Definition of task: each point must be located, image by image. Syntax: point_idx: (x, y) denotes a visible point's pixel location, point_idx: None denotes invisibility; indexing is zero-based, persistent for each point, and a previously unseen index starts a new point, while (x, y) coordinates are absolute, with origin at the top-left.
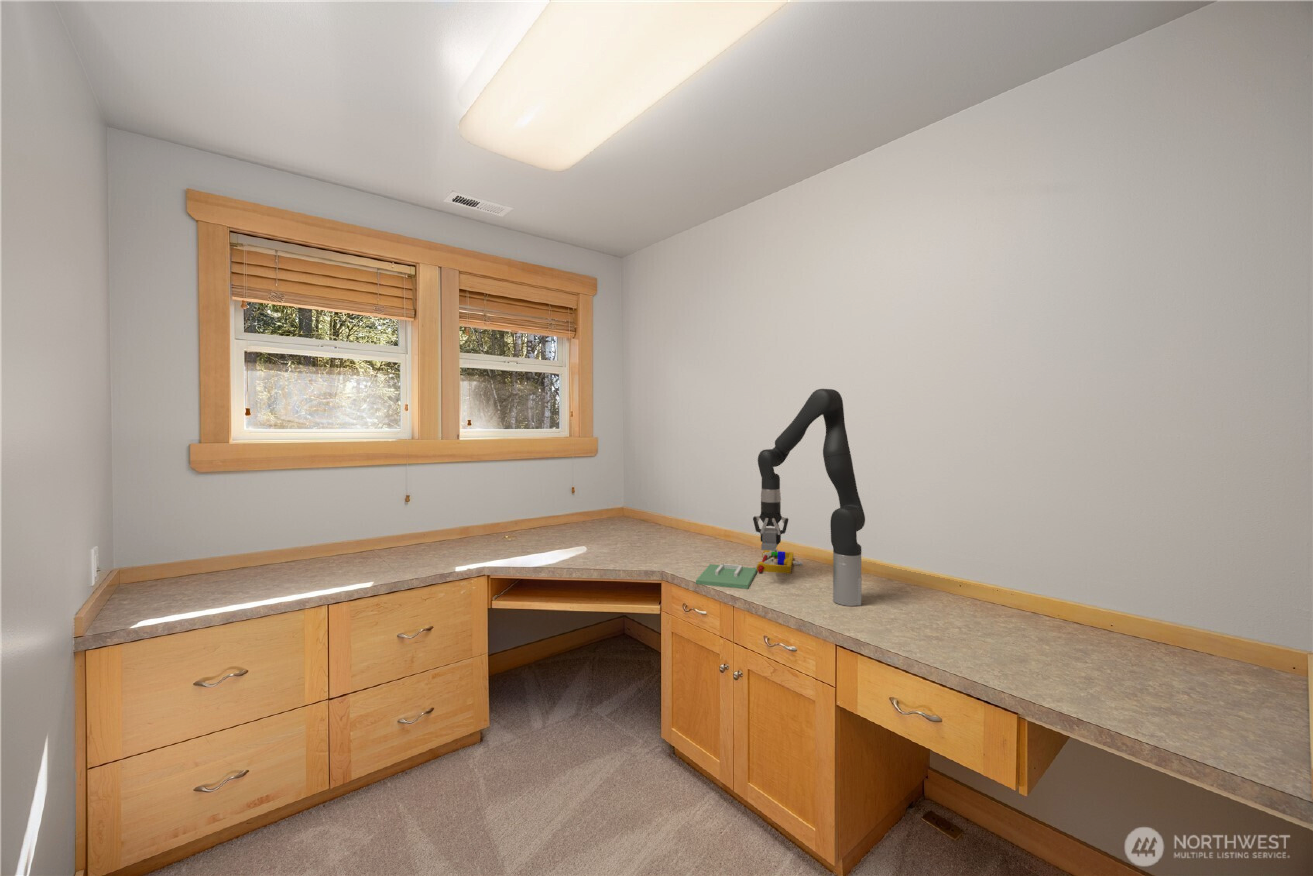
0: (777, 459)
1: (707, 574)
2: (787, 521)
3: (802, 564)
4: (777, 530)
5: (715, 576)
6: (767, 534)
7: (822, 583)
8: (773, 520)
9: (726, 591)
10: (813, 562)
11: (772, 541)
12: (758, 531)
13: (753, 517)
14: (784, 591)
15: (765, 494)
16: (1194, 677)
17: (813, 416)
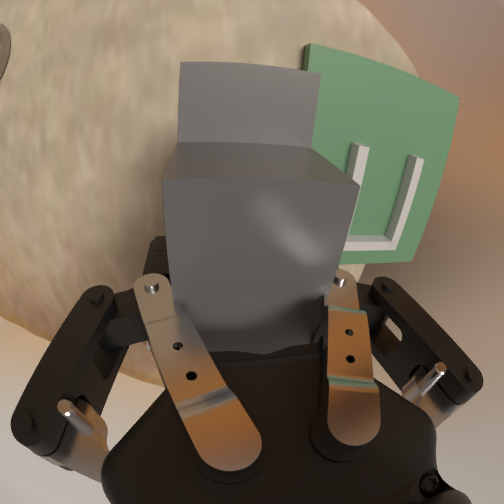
0: None
1: (434, 157)
2: (21, 408)
3: (146, 340)
4: (163, 309)
5: (416, 138)
6: (286, 174)
7: (50, 205)
8: (225, 429)
9: (373, 20)
10: (134, 367)
11: (211, 146)
12: (369, 289)
13: (482, 383)
14: (156, 54)
15: None
16: None
17: None
